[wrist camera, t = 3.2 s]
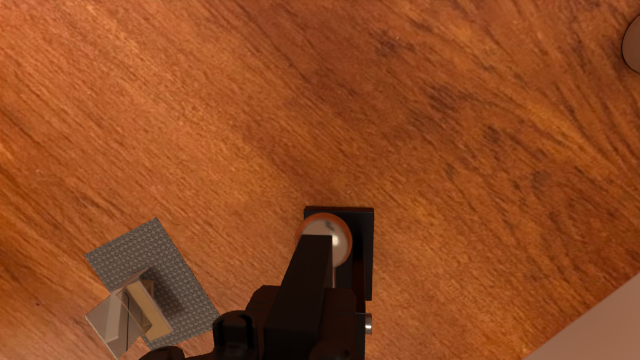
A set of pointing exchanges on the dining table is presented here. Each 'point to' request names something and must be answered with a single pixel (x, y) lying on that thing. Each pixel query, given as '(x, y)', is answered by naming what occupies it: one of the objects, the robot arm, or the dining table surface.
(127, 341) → the architectural model
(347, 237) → the lever
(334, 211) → the bracket
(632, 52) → the candle
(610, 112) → the dining table surface
